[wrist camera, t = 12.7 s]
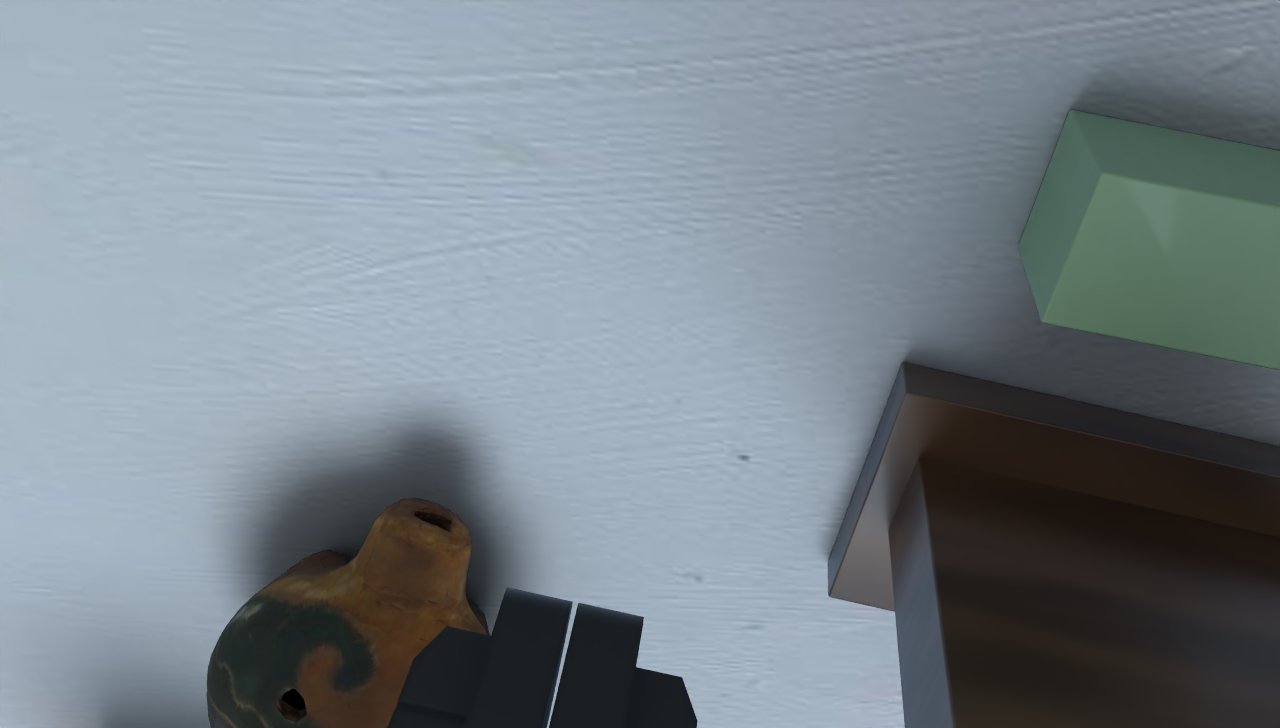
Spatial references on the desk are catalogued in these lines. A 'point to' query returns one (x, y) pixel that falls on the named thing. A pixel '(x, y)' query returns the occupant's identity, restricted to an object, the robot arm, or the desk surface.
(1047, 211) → the sage block
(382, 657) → the multicoloured ceramic rounded body
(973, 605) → the walnut upright
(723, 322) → the desk surface
